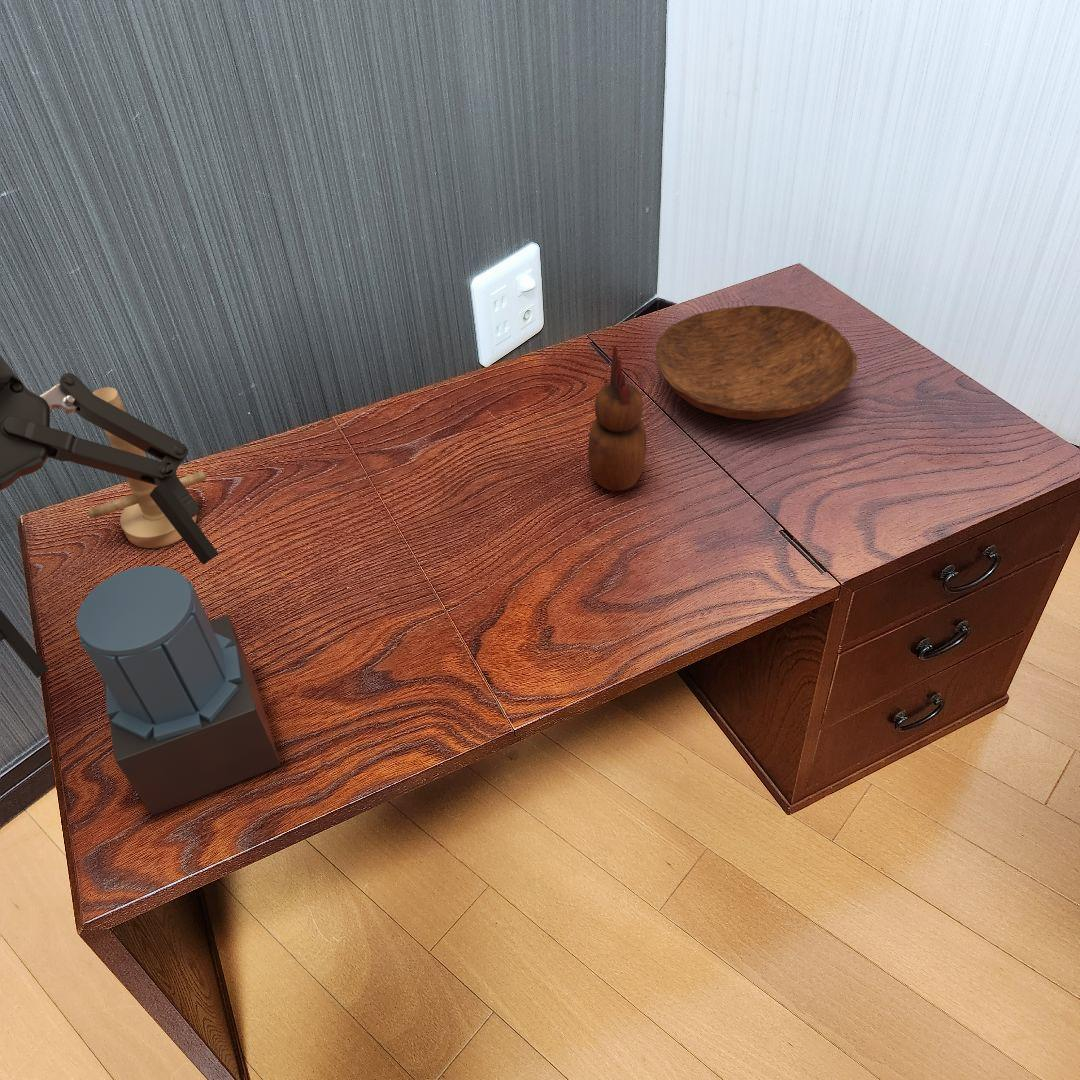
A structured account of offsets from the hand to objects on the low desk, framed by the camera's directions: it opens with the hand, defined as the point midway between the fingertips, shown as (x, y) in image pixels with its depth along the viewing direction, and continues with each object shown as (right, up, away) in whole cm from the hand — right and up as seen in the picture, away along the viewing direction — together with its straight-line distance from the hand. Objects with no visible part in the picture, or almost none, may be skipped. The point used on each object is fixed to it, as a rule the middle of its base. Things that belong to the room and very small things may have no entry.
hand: (131, 614), depth 66 cm
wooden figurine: (+37, +12, +30) cm, 49 cm away
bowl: (+53, +22, +40) cm, 70 cm away
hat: (+2, -5, +4) cm, 7 cm away
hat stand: (-9, +7, +27) cm, 29 cm away
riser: (+2, -11, +9) cm, 15 cm away
